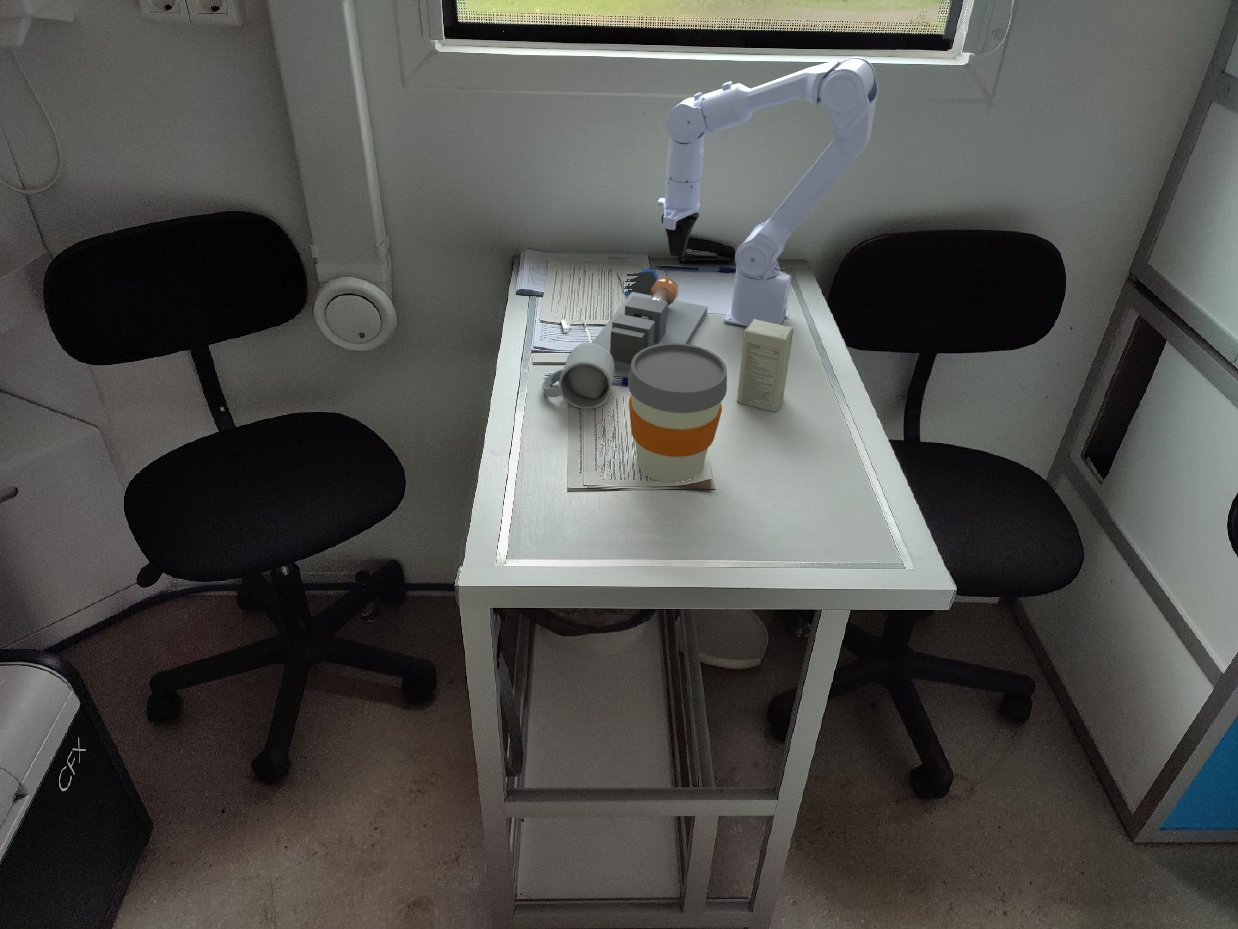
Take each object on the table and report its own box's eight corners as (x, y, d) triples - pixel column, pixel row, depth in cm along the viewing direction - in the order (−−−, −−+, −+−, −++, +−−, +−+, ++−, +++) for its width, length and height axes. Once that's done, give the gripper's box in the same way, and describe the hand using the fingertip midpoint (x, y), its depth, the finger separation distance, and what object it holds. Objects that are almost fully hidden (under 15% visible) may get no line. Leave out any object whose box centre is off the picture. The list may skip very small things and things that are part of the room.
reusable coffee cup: (605, 455, 117) (608, 359, 108) (675, 425, 123) (684, 332, 114) (663, 504, 109) (673, 405, 100) (735, 469, 115) (750, 373, 106)
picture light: (594, 349, 141) (594, 337, 139) (568, 351, 140) (568, 340, 139) (581, 309, 151) (580, 299, 150) (556, 311, 151) (556, 300, 149)
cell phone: (653, 271, 165) (654, 268, 164) (668, 305, 154) (669, 301, 154) (616, 273, 164) (616, 269, 163) (628, 306, 153) (628, 303, 152)
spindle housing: (706, 314, 151) (710, 277, 147) (667, 380, 133) (670, 340, 128) (631, 299, 154) (633, 263, 150) (582, 362, 136) (583, 322, 132)
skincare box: (783, 399, 130) (796, 327, 122) (775, 413, 127) (788, 340, 119) (743, 388, 132) (753, 316, 124) (734, 401, 129) (744, 329, 121)
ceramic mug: (615, 382, 132) (615, 337, 127) (610, 411, 125) (611, 365, 121) (546, 378, 132) (545, 333, 128) (538, 407, 126) (536, 361, 121)
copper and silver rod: (677, 303, 149) (679, 279, 146) (655, 335, 139) (657, 310, 137) (653, 298, 150) (655, 275, 147) (630, 330, 140) (631, 305, 138)
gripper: (673, 160, 148) (667, 235, 156) (647, 187, 137) (642, 266, 145) (712, 166, 146) (704, 242, 154) (689, 193, 135) (682, 274, 143)
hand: (677, 254), depth 150 cm, fingers closed
